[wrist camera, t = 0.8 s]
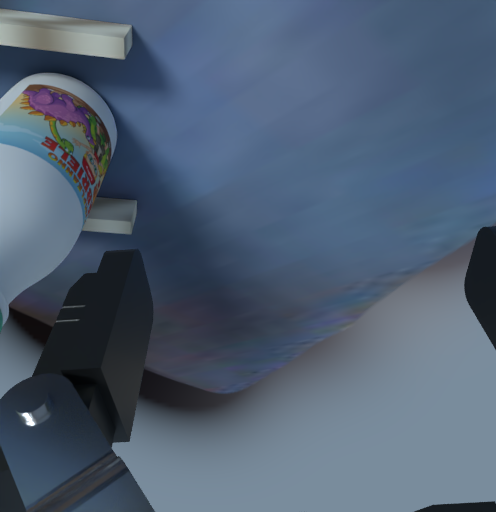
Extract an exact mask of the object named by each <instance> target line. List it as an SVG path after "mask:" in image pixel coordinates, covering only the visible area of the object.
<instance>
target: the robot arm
mask: <svg viewBox="0 0 496 512" xmlns="http://www.w3.org/2000/svg"><path fill="white" fill-rule="evenodd" d="M464 286H465V295H466V298H467V301H468V303H469V305H470V307H471V309H472V310H473V312H474V313H475V315H476V317H477V319H478V321H479V322H480V324H481V326H482V327H483V329H484V331H485V332H486V334H487V336H488V337H489V339H490V341H491V342H492V344H493V346H494V348H495V349H496V226H492V227H483V228H481V229H480V231H479V232H478V234H477V237H476V241H475V245H474V248H473V252H472V255H471V259H470V262H469V266H468V269H467V273H466V277H465V284H464ZM152 323H153V301H152V296H151V292H150V288H149V284H148V280H147V276H146V272H145V268H144V264H143V260H142V256H141V253H140V251H139V250H138V249H131V250H116V251H106V252H105V253H104V255H103V258H102V260H101V263H100V266H99V268H98V271H97V273H87V274H84V275H83V276H82V277H81V278H80V279H79V280H78V281H77V282H76V283H75V284H74V285H73V286H72V287H71V288H70V289H69V292H68V294H67V296H66V299H65V301H64V303H63V309H61V310H60V313H59V315H58V317H57V323H55V324H54V327H53V329H52V331H51V334H50V336H49V338H48V341H47V343H46V345H45V348H44V350H43V352H42V354H41V357H40V359H39V361H38V364H37V366H36V369H35V371H34V373H33V375H32V377H30V378H28V379H26V380H23V381H21V382H20V383H18V384H16V385H15V386H14V387H12V388H11V389H10V390H9V391H8V392H7V393H6V394H5V395H4V396H3V397H2V398H1V399H0V512H155V511H154V509H153V508H152V506H151V505H150V503H149V501H148V500H147V498H146V497H145V495H144V493H143V492H142V490H141V489H140V487H139V485H138V484H137V482H136V481H135V479H134V477H133V476H132V474H131V472H130V471H129V469H128V468H127V466H126V465H125V463H124V462H123V460H122V459H121V458H120V457H119V456H118V457H117V456H116V454H115V453H114V451H113V450H112V443H114V442H129V441H130V436H131V431H132V426H133V421H134V416H135V410H136V405H137V400H138V395H139V389H140V385H141V380H142V374H143V369H144V364H145V359H146V354H147V349H148V344H149V339H150V334H151V329H152ZM415 512H496V503H495V502H479V503H460V504H441V505H432V506H429V507H426V508H423V509H420V510H417V511H415Z"/></svg>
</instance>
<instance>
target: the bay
mask: <svg viewBox="0 0 496 512" xmlns="http://www.w3.org/2000/svg"><path fill="white" fill-rule="evenodd" d="M0 45H7V46H15V47H23V48H32V49H40V50H49V51H57V52H66V53H74V54H82V55H91V56H99V57H108V58H116V59H125V58H126V56H127V54H128V52H129V51H130V49H131V47H132V25H126V24H118V23H110V22H102V21H94V20H86V19H78V18H70V17H62V16H55V15H47V14H39V13H31V12H23V11H15V10H7V9H0ZM136 215H137V200H126V199H114V198H103V197H96V198H95V201H94V203H93V205H92V208H91V210H90V213H89V215H88V217H87V220H86V222H85V224H84V226H83V229H82V231H95V232H107V233H120V234H132V230H133V226H134V222H135V218H136Z"/></svg>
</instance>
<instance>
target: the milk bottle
mask: <svg viewBox="0 0 496 512" xmlns="http://www.w3.org/2000/svg"><path fill="white" fill-rule="evenodd" d="M116 142H117V129H116V124H115V120H114V118H113V115H112V113H111V111H110V109H109V107H108V106H107V104H106V103H105V102H104V100H103V99H102V98H101V97H100V95H99V94H97V93H96V92H95V91H94V90H93V89H92V88H91V87H89V86H88V85H86V84H85V83H83V82H82V81H79V80H77V79H75V78H73V77H70V76H67V75H63V74H58V73H38V74H34V75H31V76H28V77H26V78H24V79H22V80H21V81H19V82H18V83H17V84H16V85H15V86H13V87H12V88H11V89H10V90H9V91H8V92H7V93H6V94H5V95H4V96H3V97H2V98H1V99H0V332H1V329H2V326H3V325H4V323H5V322H6V320H7V318H8V313H9V307H8V304H9V303H10V302H11V301H12V300H13V299H14V298H15V297H16V296H17V295H19V294H20V293H21V292H22V291H24V290H25V289H26V288H28V287H30V286H31V285H33V284H34V283H36V282H38V281H39V280H41V279H42V278H44V277H45V276H47V275H48V274H49V273H51V272H52V271H53V270H54V269H55V268H56V267H57V266H58V265H59V264H60V263H61V262H62V261H63V260H64V259H65V258H66V256H67V255H68V254H69V252H70V251H71V249H72V248H73V246H74V244H75V243H76V241H77V239H78V237H79V235H80V233H81V231H82V229H83V226H84V224H85V222H86V220H87V217H88V215H89V213H90V210H91V208H92V205H93V203H94V201H95V198H96V196H97V193H98V191H99V189H100V186H101V184H102V181H103V179H104V176H105V174H106V171H107V169H108V166H109V164H110V161H111V158H112V156H113V153H114V150H115V146H116Z"/></svg>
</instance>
